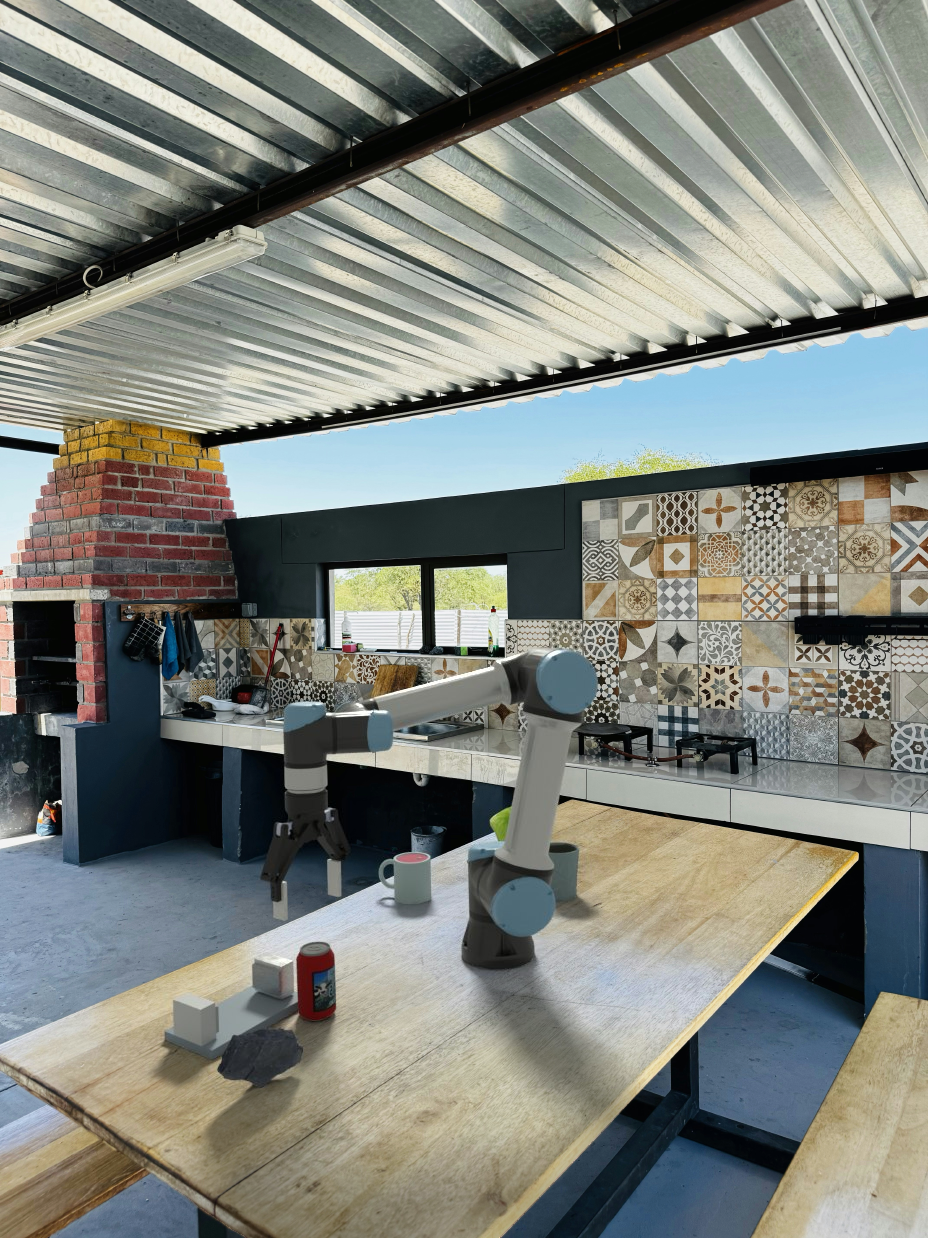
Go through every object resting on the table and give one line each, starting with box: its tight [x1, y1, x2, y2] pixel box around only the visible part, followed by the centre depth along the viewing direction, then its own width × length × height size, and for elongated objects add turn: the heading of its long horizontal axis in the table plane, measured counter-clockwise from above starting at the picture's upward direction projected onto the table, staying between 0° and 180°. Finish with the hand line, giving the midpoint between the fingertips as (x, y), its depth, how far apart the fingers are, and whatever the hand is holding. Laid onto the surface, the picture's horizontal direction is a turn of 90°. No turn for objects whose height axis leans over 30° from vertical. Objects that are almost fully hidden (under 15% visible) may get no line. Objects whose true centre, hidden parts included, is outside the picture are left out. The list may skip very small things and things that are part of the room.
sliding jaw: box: [251, 952, 295, 1000], centre depth 154 cm, size 7×4×6 cm, turn 57°
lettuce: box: [489, 806, 512, 841], centre depth 244 cm, size 15×20×14 cm
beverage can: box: [296, 941, 337, 1022], centre depth 149 cm, size 7×7×12 cm
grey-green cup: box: [548, 841, 580, 903], centre depth 208 cm, size 10×10×12 cm
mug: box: [378, 851, 432, 905], centre depth 209 cm, size 14×9×10 cm
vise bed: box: [163, 985, 298, 1060], centre depth 148 cm, size 12×22×8 cm, turn 147°
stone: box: [216, 1027, 305, 1088], centre depth 127 cm, size 14×6×10 cm, turn 150°
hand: (308, 907), depth 150 cm, fingers open, 13 cm apart
